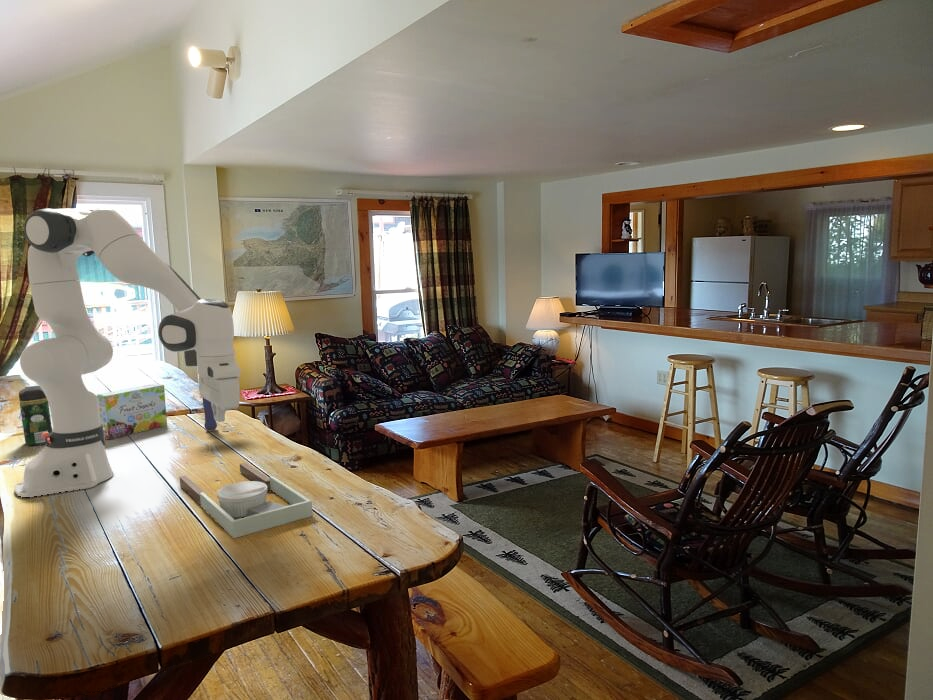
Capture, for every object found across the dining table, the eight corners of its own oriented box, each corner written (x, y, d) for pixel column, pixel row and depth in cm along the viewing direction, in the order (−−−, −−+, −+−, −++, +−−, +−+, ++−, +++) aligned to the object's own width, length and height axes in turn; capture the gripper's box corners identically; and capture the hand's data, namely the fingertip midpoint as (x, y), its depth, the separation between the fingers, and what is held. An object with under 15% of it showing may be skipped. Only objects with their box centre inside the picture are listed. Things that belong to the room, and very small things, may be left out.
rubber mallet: (192, 436, 219) (184, 346, 215) (190, 430, 226) (182, 343, 221) (231, 430, 224) (224, 343, 220) (229, 425, 231) (221, 340, 227)
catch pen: (233, 538, 137) (232, 522, 137) (201, 507, 155) (199, 492, 154) (312, 515, 148) (311, 500, 147) (273, 489, 166) (272, 475, 165)
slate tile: (266, 525, 144) (265, 514, 144) (248, 520, 147) (247, 509, 147) (287, 516, 149) (287, 505, 148) (270, 511, 152) (269, 500, 152)
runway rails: (202, 506, 155) (201, 496, 155) (180, 486, 170) (179, 476, 170) (272, 489, 165) (271, 480, 165) (245, 471, 180) (245, 462, 180)
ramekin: (249, 522, 145) (247, 499, 144) (207, 518, 149) (205, 495, 148) (278, 504, 156) (277, 482, 155) (239, 500, 159) (237, 479, 158)
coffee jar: (24, 441, 219) (17, 386, 216) (53, 437, 223) (46, 383, 221) (24, 447, 211) (17, 390, 208) (54, 443, 215) (47, 387, 213)
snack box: (109, 440, 217) (104, 395, 215) (100, 438, 220) (95, 394, 218) (168, 425, 235) (164, 383, 232) (159, 423, 237) (154, 382, 235)
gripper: (191, 361, 168) (194, 414, 170) (216, 373, 152) (219, 431, 154) (216, 358, 172) (219, 410, 174) (243, 370, 156) (246, 427, 158)
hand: (219, 420), depth 164 cm, fingers closed
